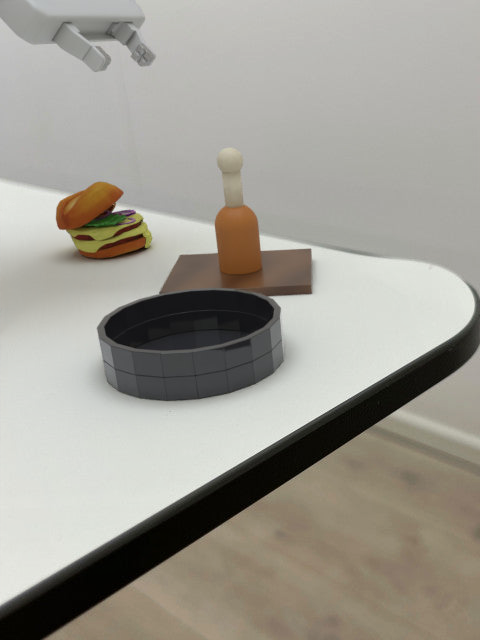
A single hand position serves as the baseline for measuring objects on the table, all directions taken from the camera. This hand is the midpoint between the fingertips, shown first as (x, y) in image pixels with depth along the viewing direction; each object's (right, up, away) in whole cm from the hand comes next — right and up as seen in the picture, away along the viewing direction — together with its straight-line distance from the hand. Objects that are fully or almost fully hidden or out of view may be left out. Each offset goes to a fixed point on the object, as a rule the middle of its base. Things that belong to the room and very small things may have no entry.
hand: (128, 64), depth 80 cm
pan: (+10, -31, -13) cm, 35 cm away
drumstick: (+11, -20, +8) cm, 24 cm away
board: (+11, -22, +8) cm, 26 cm away
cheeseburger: (-9, -16, +22) cm, 29 cm away
